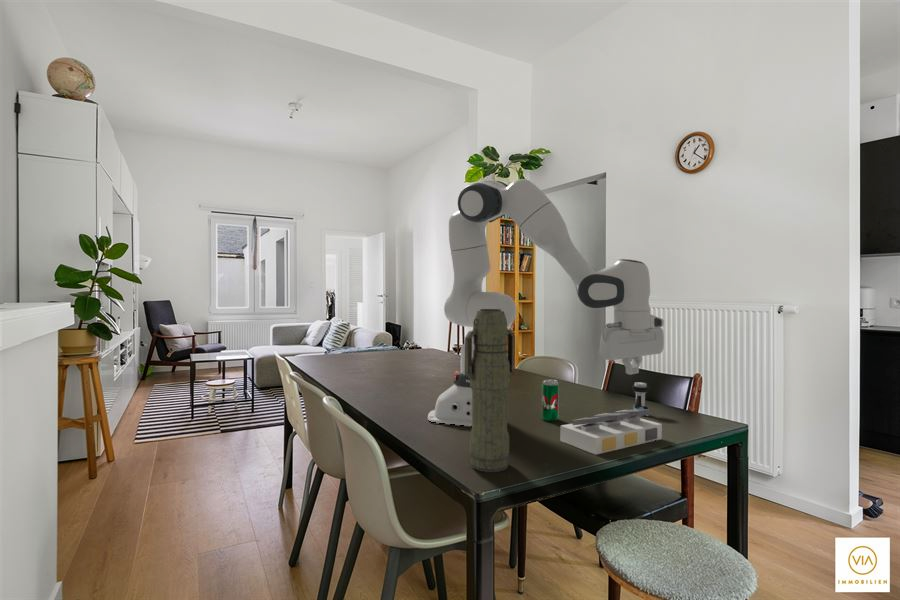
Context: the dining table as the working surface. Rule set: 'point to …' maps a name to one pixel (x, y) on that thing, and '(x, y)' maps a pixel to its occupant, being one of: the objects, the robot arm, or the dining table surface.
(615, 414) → the middle rocker
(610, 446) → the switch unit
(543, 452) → the dining table surface
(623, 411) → the right rocker
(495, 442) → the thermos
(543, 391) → the soda can
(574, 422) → the left rocker
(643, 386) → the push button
